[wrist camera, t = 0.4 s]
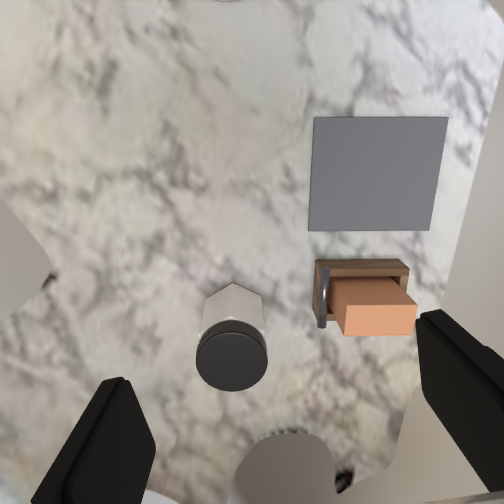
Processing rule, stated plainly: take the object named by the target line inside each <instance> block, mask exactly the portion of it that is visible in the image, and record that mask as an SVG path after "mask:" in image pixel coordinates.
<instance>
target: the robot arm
mask: <svg viewBox="0 0 504 504" xmlns="http://www.w3.org/2000/svg"><path fill="white" fill-rule="evenodd" d="M219 1H236V0H219ZM415 323H416V334H417V344H418V354H419V364H420V374H421V384H422V391H423V394H424V397H425V399H426V401H427V402H428V404H429V405H430V407H431V408H432V409H433V411H434V412H435V414H436V415H437V417H438V418H439V420H440V421H441V423H442V424H443V425H444V427H445V428H446V430H447V431H448V432H449V434H450V435H451V437H452V438H453V440H454V441H455V443H456V444H457V446H458V447H459V449H460V450H461V451H462V453H463V454H464V456H465V457H466V459H467V460H468V462H469V463H470V464H471V466H472V467H473V468H474V470H475V472H476V473H477V475H478V476H479V477H480V479H481V480H482V482H483V483H484V485H485V486H486V487H487V489H488V491H489V492H490V493H484V494H478V495H471V496H465V497H458V498H452V499H445V500H439V501H433V502H427V503H421V504H504V359H503V358H501V356H499V355H498V354H497V353H496V352H495V351H494V350H492V349H491V348H489V347H488V346H483V345H482V344H481V343H480V342H479V341H478V340H476V339H475V338H474V337H473V336H472V335H470V334H469V333H468V332H467V331H466V330H465V329H464V328H462V327H461V326H460V325H459V324H458V323H457V322H456V321H454V320H453V319H452V318H451V317H450V316H449V315H448V314H446V313H445V312H444V311H442V310H441V309H438V310H433V311H429V312H424V313H421V315H420V318H419V319H416V321H415ZM155 453H156V445H155V441H154V439H153V436H152V434H151V431H150V429H149V426H148V424H147V422H146V419H145V417H144V414H143V412H142V409H141V407H140V405H139V402H138V400H137V397H136V395H135V392H134V390H133V388H132V385H131V383H130V381H129V380H125V379H124V378H123V377H116V378H112V379H107V380H104V381H102V383H101V384H100V386H99V387H98V389H97V391H96V392H95V394H94V396H93V397H92V399H91V401H90V402H89V404H88V406H87V407H86V409H85V411H84V412H83V414H82V416H81V417H80V419H79V421H78V422H77V424H76V426H75V427H74V429H73V431H72V432H71V434H70V436H69V437H68V439H67V441H66V442H65V444H64V446H63V447H62V449H61V451H60V452H59V454H58V456H57V457H56V459H55V461H54V462H53V464H52V466H51V467H50V469H49V471H48V472H47V474H46V476H45V477H44V479H43V481H42V482H41V484H40V486H39V487H38V489H37V491H36V492H35V494H34V496H33V497H32V499H31V503H32V504H141V502H142V498H143V494H144V491H145V488H146V484H147V481H148V478H149V474H150V471H151V467H152V464H153V460H154V457H155Z"/></svg>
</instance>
